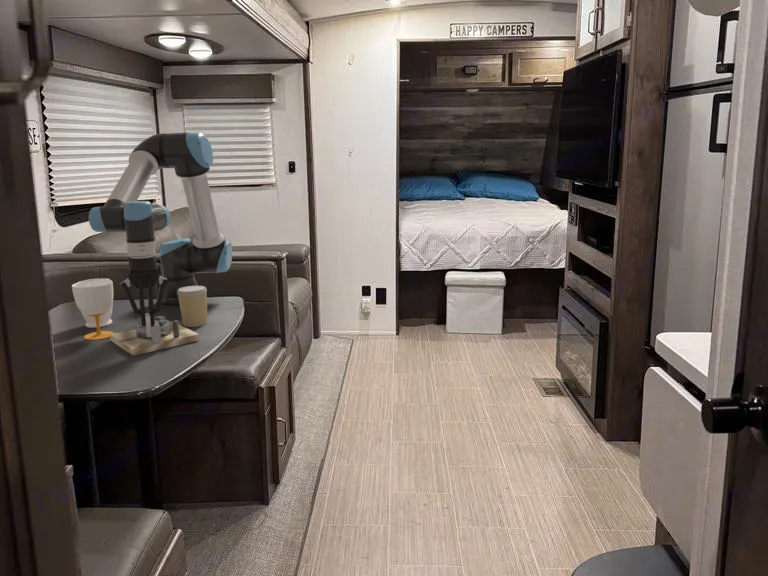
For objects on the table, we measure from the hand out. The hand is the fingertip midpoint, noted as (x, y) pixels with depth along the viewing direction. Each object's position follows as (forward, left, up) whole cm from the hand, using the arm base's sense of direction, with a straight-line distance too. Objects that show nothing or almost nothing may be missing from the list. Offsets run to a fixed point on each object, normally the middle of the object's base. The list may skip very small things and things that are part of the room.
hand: (149, 335), depth 190 cm
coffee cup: (-21, -17, -4) cm, 27 cm away
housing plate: (-4, -8, -4) cm, 9 cm away
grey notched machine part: (-3, -5, -2) cm, 6 cm away
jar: (+3, -40, -4) cm, 40 cm away
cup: (+7, -26, -4) cm, 27 cm away
